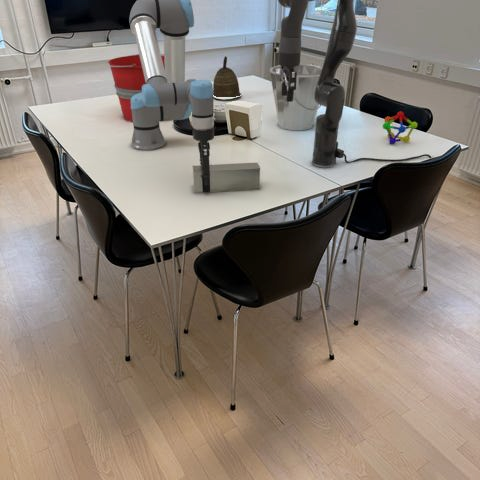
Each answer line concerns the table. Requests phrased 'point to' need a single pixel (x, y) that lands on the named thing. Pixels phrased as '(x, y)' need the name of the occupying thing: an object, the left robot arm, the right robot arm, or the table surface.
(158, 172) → the table surface
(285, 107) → the bucket
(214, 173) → the bar
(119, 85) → the bucket
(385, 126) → the educational toy
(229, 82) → the bell
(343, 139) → the table surface
